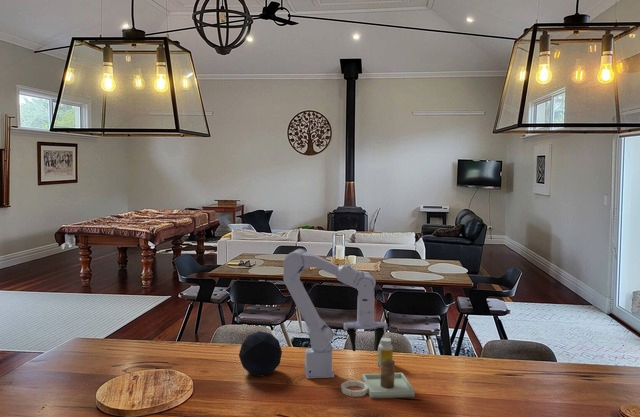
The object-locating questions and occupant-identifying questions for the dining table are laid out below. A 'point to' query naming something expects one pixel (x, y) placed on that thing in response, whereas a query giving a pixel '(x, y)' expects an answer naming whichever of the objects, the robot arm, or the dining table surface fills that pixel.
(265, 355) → the decorative orb
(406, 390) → the tray
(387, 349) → the supplement bottle
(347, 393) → the holder ring
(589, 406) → the dining table surface
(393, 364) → the walnut canister
